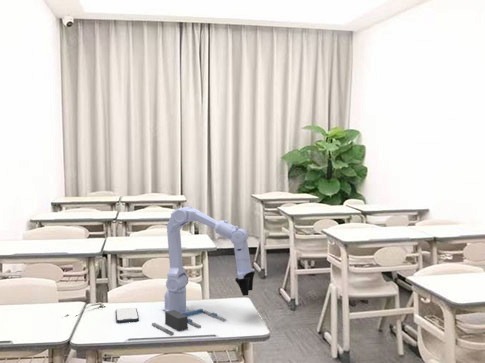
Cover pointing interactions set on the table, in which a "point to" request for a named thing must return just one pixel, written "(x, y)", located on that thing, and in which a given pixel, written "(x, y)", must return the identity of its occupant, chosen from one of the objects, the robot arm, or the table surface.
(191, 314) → the silver and blue frame
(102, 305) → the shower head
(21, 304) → the table surface
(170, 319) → the dark grey block
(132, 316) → the phone case
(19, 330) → the table surface
